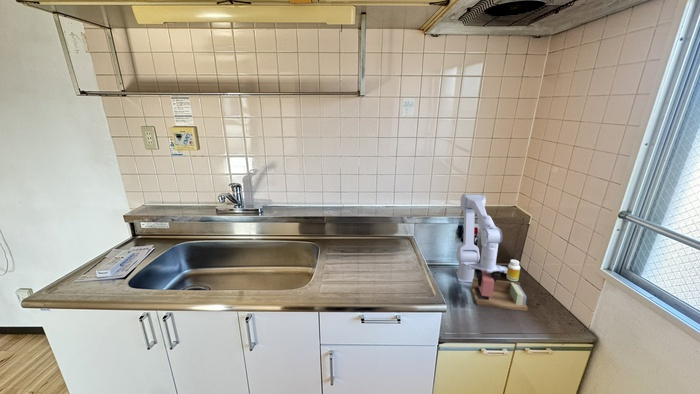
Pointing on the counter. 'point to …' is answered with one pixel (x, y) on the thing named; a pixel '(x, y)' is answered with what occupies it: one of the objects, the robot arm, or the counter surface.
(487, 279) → the tall pink block
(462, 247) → the robot arm
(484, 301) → the shelf
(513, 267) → the supplement bottle
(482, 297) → the bookend
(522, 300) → the books
